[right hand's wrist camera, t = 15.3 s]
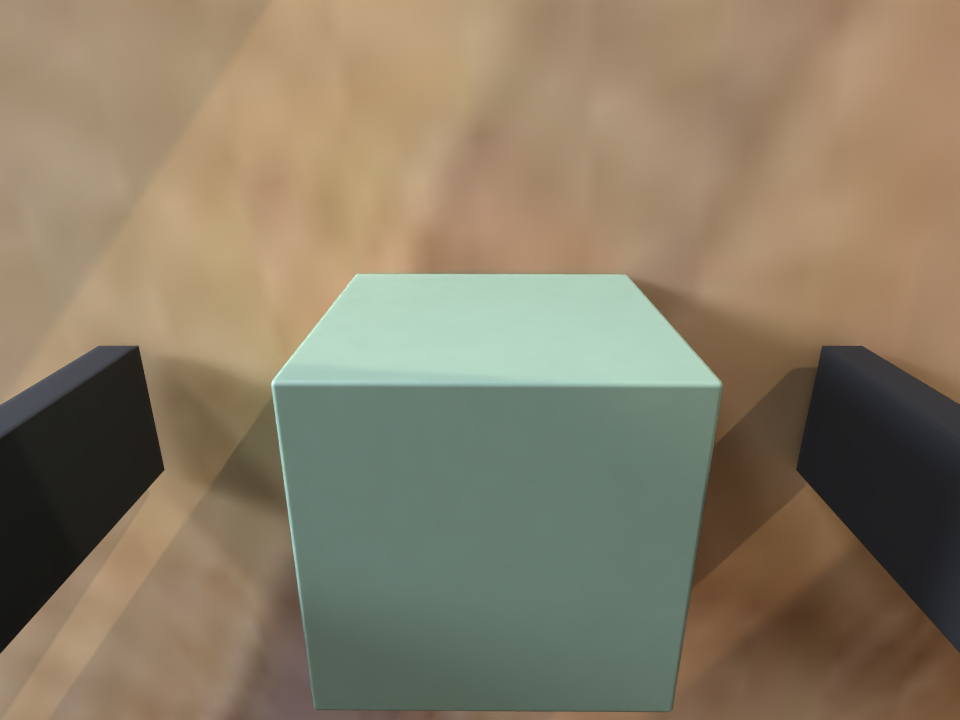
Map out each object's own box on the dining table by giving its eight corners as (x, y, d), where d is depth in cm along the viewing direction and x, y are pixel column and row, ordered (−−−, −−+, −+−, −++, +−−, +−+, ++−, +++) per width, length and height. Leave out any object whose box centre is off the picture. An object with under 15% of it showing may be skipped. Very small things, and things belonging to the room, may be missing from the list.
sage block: (372, 503, 13) (312, 712, 9) (355, 272, 12) (268, 381, 7) (607, 504, 13) (673, 714, 9) (627, 273, 11) (726, 382, 7)
